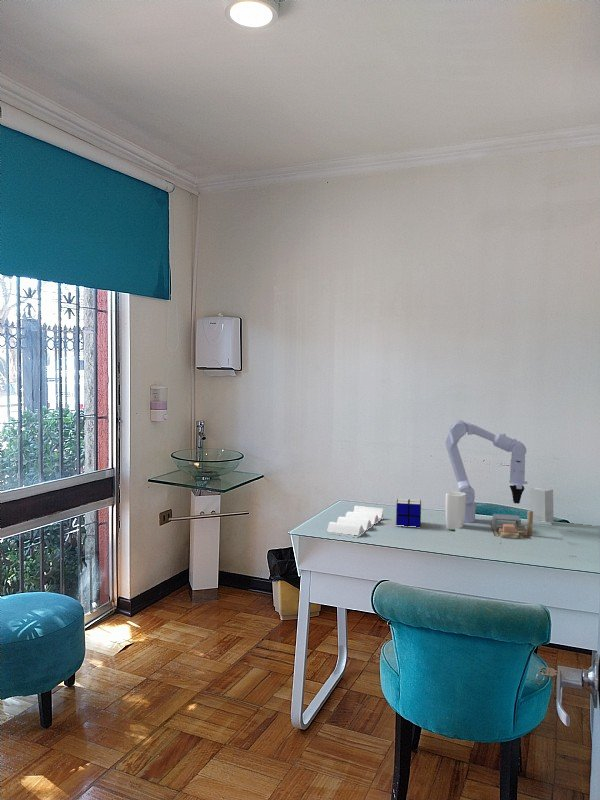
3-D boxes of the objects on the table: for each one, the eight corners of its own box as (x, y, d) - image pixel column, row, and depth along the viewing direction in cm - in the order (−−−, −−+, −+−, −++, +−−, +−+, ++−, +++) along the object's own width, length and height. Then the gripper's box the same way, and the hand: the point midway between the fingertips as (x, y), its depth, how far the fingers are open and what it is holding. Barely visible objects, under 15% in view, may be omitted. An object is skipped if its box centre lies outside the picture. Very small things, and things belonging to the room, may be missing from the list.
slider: (500, 536, 240) (501, 513, 240) (498, 531, 247) (499, 508, 247) (534, 539, 237) (535, 515, 237) (531, 534, 245) (532, 510, 244)
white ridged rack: (325, 535, 247) (325, 522, 247) (354, 516, 279) (354, 505, 279) (357, 539, 242) (357, 526, 241) (383, 520, 274) (383, 508, 273)
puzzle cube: (396, 526, 260) (396, 503, 260) (396, 521, 270) (397, 498, 269) (420, 528, 258) (421, 504, 258) (420, 522, 268) (420, 499, 268)
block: (503, 536, 242) (504, 526, 241) (502, 533, 246) (503, 523, 245) (514, 537, 241) (515, 527, 241) (513, 534, 245) (513, 524, 245)
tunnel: (494, 531, 249) (494, 518, 249) (492, 526, 257) (492, 513, 257) (520, 533, 247) (520, 520, 247) (517, 528, 255) (518, 515, 255)
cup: (443, 530, 256) (444, 494, 255) (448, 526, 262) (449, 491, 261) (461, 532, 252) (462, 496, 252) (465, 528, 259) (466, 493, 258)
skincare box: (553, 523, 270) (554, 489, 269) (544, 525, 267) (546, 490, 266) (536, 519, 277) (538, 486, 276) (528, 521, 274) (529, 487, 273)
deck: (494, 539, 242) (494, 535, 242) (489, 527, 262) (490, 523, 262) (530, 542, 240) (531, 538, 240) (523, 529, 259) (523, 525, 259)
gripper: (530, 474, 253) (529, 507, 253) (525, 468, 267) (524, 500, 267) (511, 473, 254) (510, 506, 255) (507, 467, 268) (506, 499, 269)
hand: (516, 503), depth 261 cm, fingers closed
